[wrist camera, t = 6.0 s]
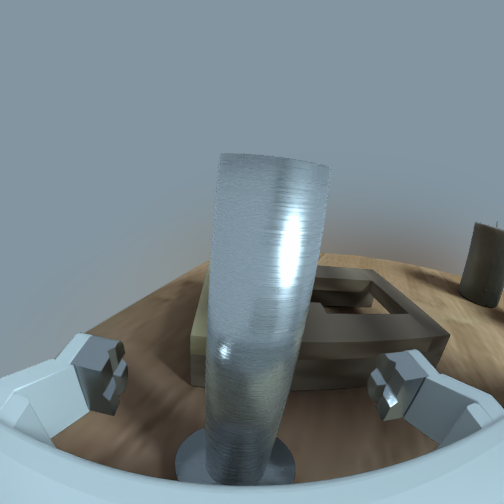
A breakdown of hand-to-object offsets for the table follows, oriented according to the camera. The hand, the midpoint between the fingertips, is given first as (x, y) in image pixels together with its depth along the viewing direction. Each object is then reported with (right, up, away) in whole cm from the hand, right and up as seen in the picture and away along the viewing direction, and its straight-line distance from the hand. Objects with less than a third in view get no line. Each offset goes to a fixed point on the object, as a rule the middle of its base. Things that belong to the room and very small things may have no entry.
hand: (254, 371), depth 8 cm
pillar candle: (+43, -5, +32) cm, 54 cm away
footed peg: (-1, -8, +3) cm, 9 cm away
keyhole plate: (+5, -5, +19) cm, 21 cm away
